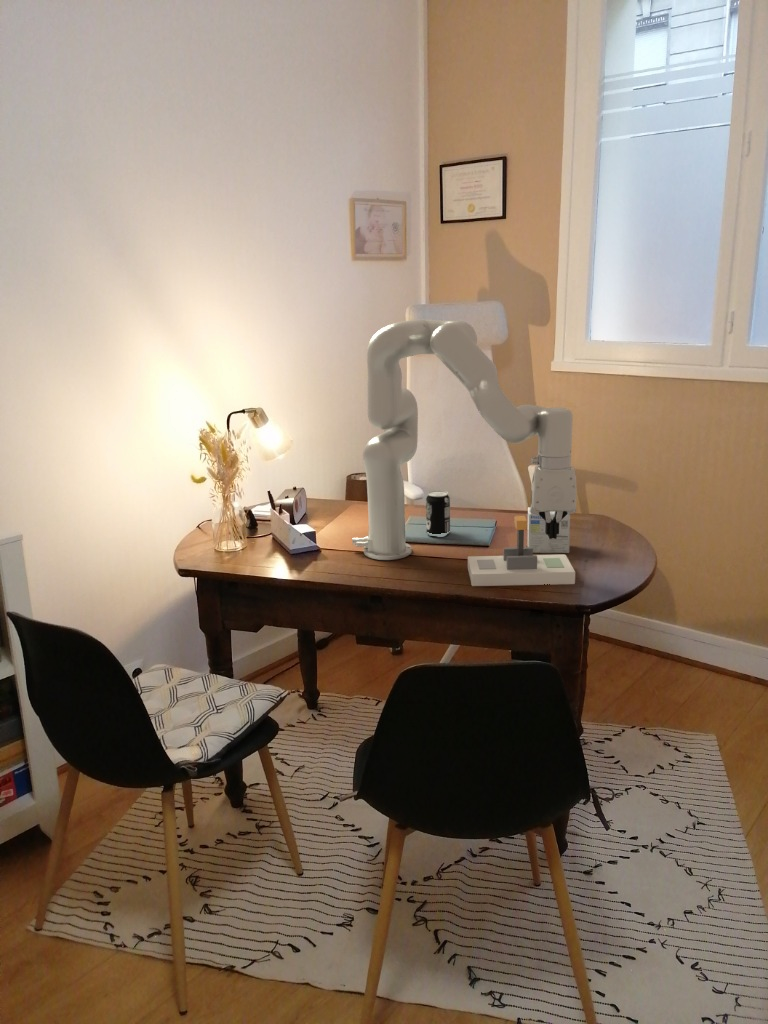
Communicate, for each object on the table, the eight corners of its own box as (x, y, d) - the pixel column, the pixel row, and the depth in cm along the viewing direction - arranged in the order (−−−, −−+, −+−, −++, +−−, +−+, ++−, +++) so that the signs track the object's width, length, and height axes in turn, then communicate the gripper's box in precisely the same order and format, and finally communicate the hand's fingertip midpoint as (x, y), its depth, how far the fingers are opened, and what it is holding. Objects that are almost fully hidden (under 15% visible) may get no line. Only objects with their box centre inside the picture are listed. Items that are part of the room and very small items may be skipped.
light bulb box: (566, 545, 217) (568, 506, 214) (569, 553, 211) (571, 513, 207) (526, 544, 218) (527, 506, 215) (527, 553, 212) (528, 513, 209)
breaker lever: (516, 566, 194) (516, 520, 191) (513, 560, 198) (514, 515, 195) (526, 566, 194) (527, 520, 191) (523, 560, 198) (524, 515, 195)
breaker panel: (471, 586, 191) (471, 562, 190) (467, 567, 203) (467, 545, 201) (574, 583, 191) (575, 559, 189) (564, 565, 202) (565, 542, 201)
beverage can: (422, 533, 230) (421, 491, 227) (443, 529, 233) (443, 488, 229) (433, 539, 224) (432, 497, 221) (454, 536, 227) (454, 494, 223)
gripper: (524, 466, 185) (522, 543, 190) (590, 464, 185) (587, 541, 190) (519, 459, 192) (518, 532, 198) (583, 457, 192) (580, 531, 197)
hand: (552, 536), depth 194 cm, fingers closed
